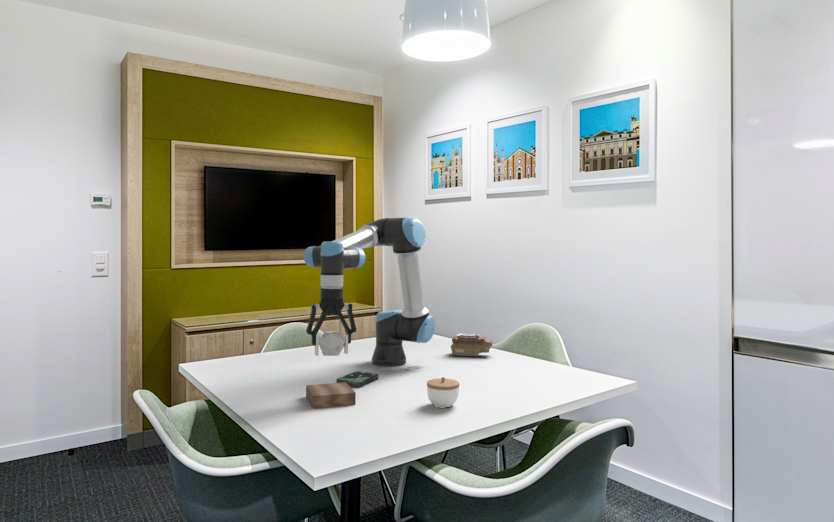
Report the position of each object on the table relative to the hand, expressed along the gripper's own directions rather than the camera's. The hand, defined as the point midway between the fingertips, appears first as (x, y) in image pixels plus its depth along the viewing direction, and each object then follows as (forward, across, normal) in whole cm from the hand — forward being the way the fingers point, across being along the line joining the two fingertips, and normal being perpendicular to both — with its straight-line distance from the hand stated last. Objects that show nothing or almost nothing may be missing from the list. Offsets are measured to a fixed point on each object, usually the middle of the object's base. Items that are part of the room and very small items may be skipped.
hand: (331, 354), depth 189 cm
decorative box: (+16, -78, -53) cm, 96 cm away
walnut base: (+16, 0, 0) cm, 16 cm away
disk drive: (+16, -15, -21) cm, 31 cm away
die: (0, 0, 0) cm, 0 cm away
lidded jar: (+16, -34, +17) cm, 41 cm away
